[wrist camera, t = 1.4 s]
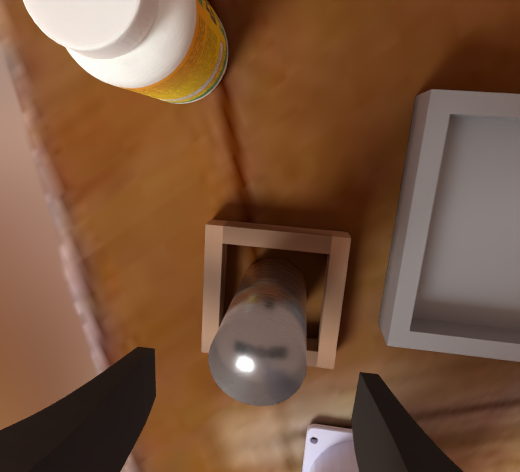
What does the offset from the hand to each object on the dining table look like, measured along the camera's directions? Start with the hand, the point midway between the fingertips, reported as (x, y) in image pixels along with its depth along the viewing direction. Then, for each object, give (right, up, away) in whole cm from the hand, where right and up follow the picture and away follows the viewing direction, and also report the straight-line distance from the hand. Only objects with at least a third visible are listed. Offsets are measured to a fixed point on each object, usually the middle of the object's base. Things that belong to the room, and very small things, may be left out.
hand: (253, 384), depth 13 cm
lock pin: (+1, +2, +10) cm, 10 cm away
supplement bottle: (-4, +15, +7) cm, 17 cm away
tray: (+14, +6, +7) cm, 17 cm away
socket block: (+1, +2, +10) cm, 10 cm away
